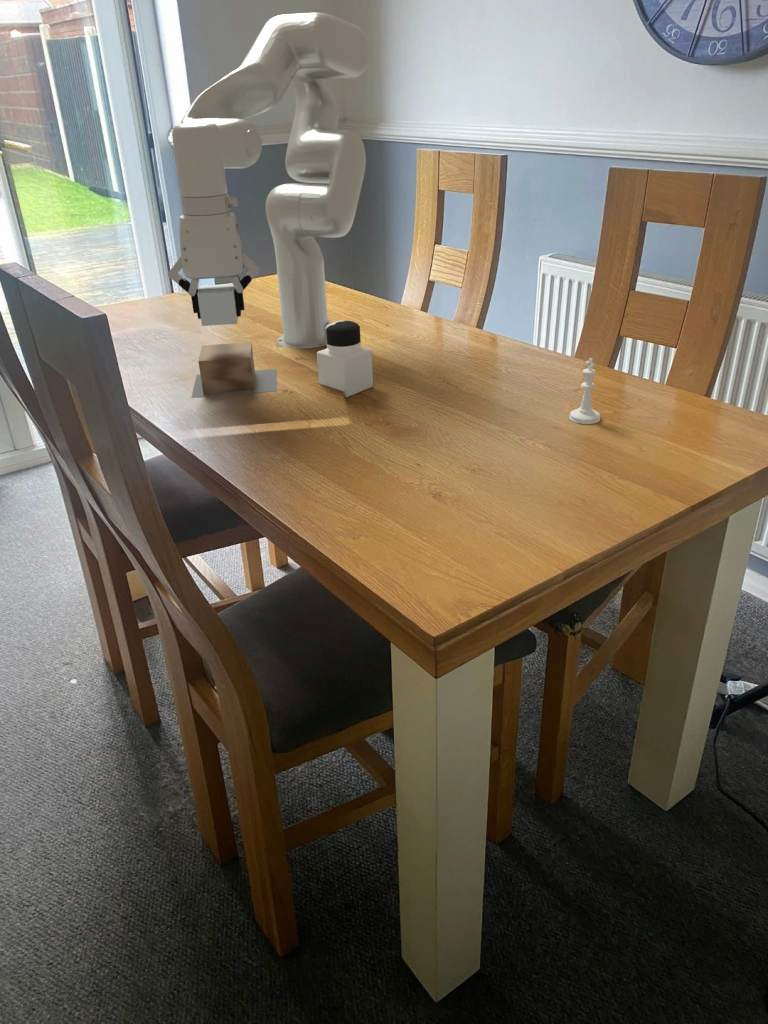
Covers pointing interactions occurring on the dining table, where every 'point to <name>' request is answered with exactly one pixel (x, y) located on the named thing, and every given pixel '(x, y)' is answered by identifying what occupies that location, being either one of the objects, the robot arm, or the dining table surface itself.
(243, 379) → the walnut block
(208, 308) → the blue-grey block
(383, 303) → the dining table surface
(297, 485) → the dining table surface
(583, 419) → the chess piece
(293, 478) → the dining table surface
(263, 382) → the slate board
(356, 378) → the medicine bottle
